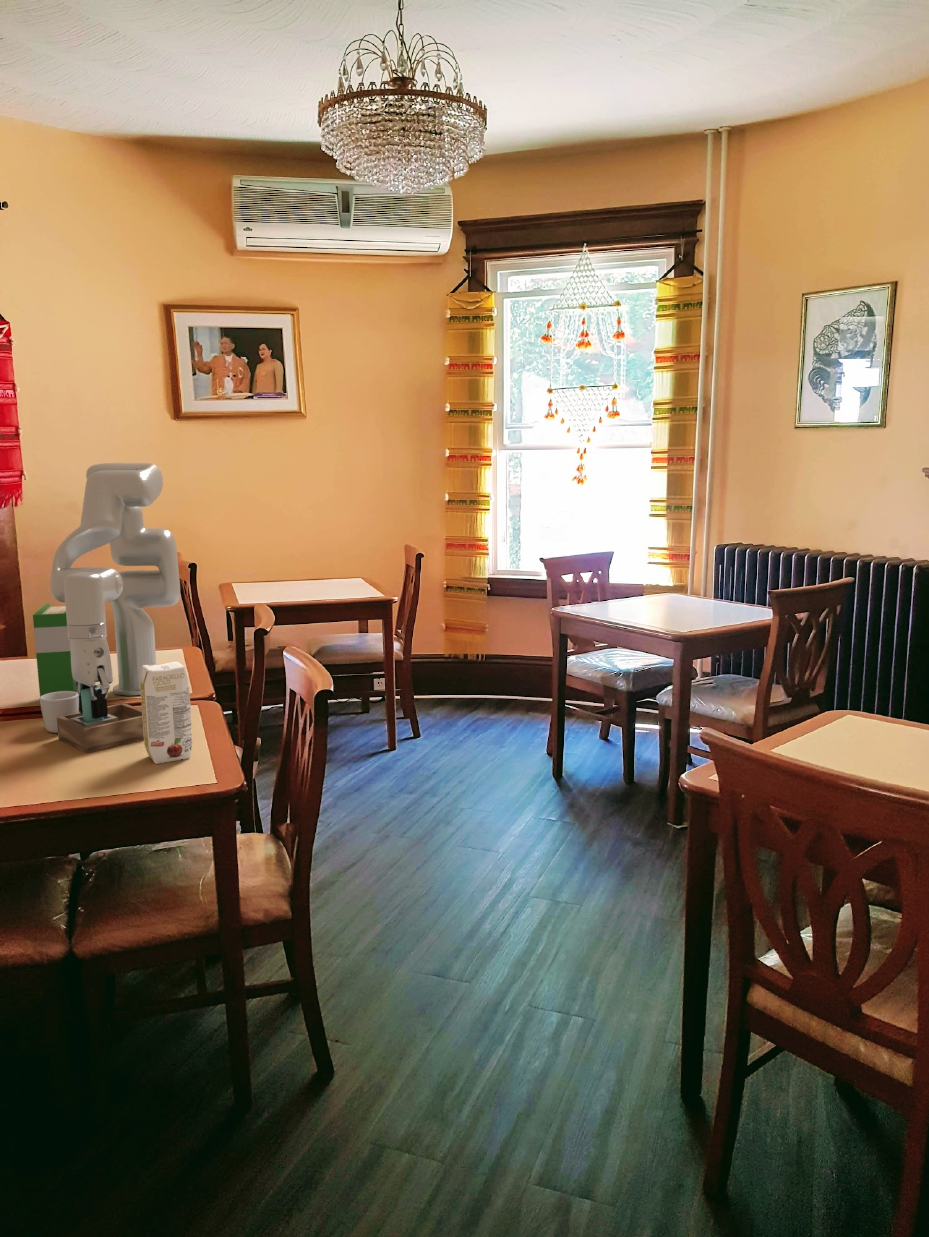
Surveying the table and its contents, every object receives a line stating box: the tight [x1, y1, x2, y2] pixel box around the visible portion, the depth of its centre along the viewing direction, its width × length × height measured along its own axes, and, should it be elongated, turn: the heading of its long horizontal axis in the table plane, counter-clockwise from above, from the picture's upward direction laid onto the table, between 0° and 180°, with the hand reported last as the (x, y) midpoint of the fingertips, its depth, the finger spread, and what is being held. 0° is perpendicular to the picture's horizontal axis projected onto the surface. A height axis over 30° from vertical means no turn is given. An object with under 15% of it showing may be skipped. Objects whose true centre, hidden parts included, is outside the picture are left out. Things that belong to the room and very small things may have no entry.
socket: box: [71, 714, 118, 727], centre depth 186 cm, size 7×7×4 cm
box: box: [57, 702, 144, 754], centre depth 188 cm, size 15×14×5 cm
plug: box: [81, 687, 104, 723], centre depth 185 cm, size 4×4×10 cm
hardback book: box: [32, 603, 78, 716], centre depth 213 cm, size 18×7×24 cm, turn 16°
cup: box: [38, 691, 80, 734], centre depth 194 cm, size 11×8×8 cm
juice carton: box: [140, 661, 193, 765], centre depth 174 cm, size 8×9×19 cm
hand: (93, 713), depth 185 cm, fingers open, 5 cm apart
